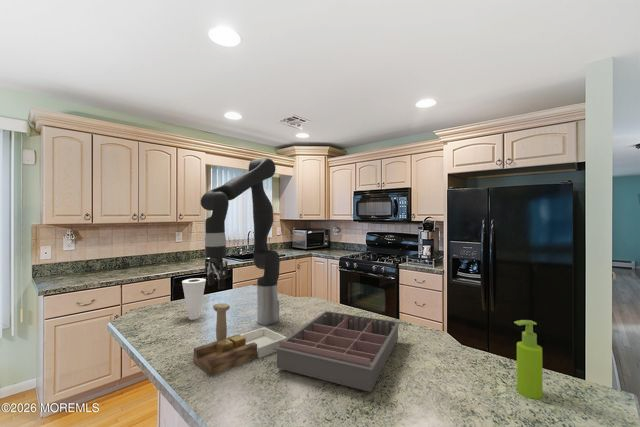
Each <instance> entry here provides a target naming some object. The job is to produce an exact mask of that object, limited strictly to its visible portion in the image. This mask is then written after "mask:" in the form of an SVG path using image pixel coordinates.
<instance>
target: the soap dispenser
mask: <svg viewBox="0 0 640 427" xmlns="http://www.w3.org/2000/svg"><path fill="white" fill-rule="evenodd" d="M513 323H514V324H515V325H517V326H519V327H520V326H525V330H523V331H521V341H517V342H516V391H517V392H518V393H519V394H520V395H521V396H523V397H525V398H529V399H531V400H540V399H542V398H543V347H542V346H541V345H539V344H537V343H538V340H537V338H538V335H537V333H535V332H534V325H535V326H537V322H536V321H533V320H532V319H531V320H530V319H520V320H516V321H514V322H513Z"/></svg>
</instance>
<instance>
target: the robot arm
mask: <svg viewBox="0 0 640 427" xmlns="http://www.w3.org/2000/svg"><path fill="white" fill-rule="evenodd" d="M275 174H276V163H275V162H274V161H273V160H272V159H270V158H268V157H263V158H256V159H252V160H251V161H250V162H249V164H248V171H247V172H246V173H242V174H239V175H237V176H236V177H233V178H231V179H229V180H228V181H227V182H225V183H224V184H222V185H221V186H218V187H215V188H212V189H210V190H208V191H207V192H205V193H204V194H203V195H202V196H201V197H200V205H201V207H202V208H203V209H204V210H206V211H209V212H210V211H212V212H211V215H210V216H208V217H207V218H206V219H205V225H204V229H205V231H204V232H205V235H204V254H205V255H204V257H205V259H204V273H205V274H207V279H208V280H207V283H208V284H207V285H208V286H214V285H215V275H216V276H217V280H218V281H217V283H218V284H217V286H218V290H224V289H225V288H226V284H225V283H226V281H225V279H226V278H228V277H229V268H228V266H229V265H228V264H229V263H228V261H227V260H226V261H225V260H224V259H223V258H225V257H226V256H227V238H226V228H225V226H226V224H225V222H226V220H227V219H226V218H227V214H228V209H229V206H230V205H229V202H230V201H232V200H235V199H236V198H238V197H239V196H240V195H242V194H243V193H244V192H246V191H248V189H251V200H252V218H253V219H252V220H253V240H254V241H253V242H254V243H253V263H254V266H255V267H256V269H258V270H259V269H260V270H263V275H262V276H260V277H258V278H257V281H256V282H257V284H256V287H257V289H256V290H257V291H256V292H257V293H256V294H257V295H256V296H257V302H256V303H257V306H256V307H257V308H256V310H257V314H256V315H257V316H256V317H257V318H256V319H257V321H256V322H257V324H259V325H265V326H267V325H273V324H276V323H277V322H279V321H280V300H279V299H278V280H279V278H280V267H281V266H280V264H281V260H280V255H279V252H278V251H276V250H273V249H268V236H269V233H270V232H271V229H272V227H273V226H274V225H273V223H274V208H273V204H272V202H271V201H270V199H269V197H268V196H267V194H266V191H265V189H264V181H265V180H268V179H270V178H273V176H274V175H275Z"/></svg>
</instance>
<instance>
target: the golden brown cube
mask: <svg viewBox="0 0 640 427" xmlns="http://www.w3.org/2000/svg"><path fill="white" fill-rule="evenodd" d="M237 335H238V334H237ZM234 336H235V335H234ZM230 341H232V342H233V349H236V348H239V347H242V346H244V345H246V338H245V337H243V336H241V334H239V335H238V336H235V337H232V338H230Z"/></svg>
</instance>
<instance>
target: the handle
mask: <svg viewBox="0 0 640 427" xmlns="http://www.w3.org/2000/svg"><path fill="white" fill-rule="evenodd" d="M212 307H213V310H214V311H215V312H216V324H215V338H216V341H219V340H222V339H225V338H228V335H227V334H228V328H227V326H228V325H227V324H228V323H227V311H229V310H230V304H228V303H222V302H220V303H215V304H213V306H212Z"/></svg>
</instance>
